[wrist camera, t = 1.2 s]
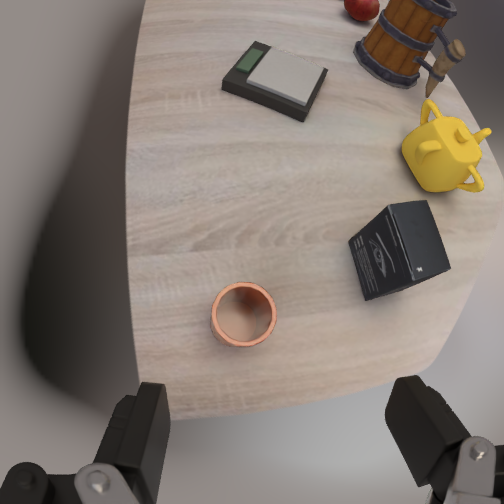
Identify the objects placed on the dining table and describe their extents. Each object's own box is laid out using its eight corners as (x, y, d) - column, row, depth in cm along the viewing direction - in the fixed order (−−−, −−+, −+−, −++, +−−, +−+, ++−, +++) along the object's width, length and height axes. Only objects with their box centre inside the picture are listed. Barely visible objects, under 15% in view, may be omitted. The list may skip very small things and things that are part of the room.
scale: (221, 89, 43) (222, 75, 41) (253, 50, 47) (255, 37, 44) (303, 122, 43) (308, 109, 41) (324, 78, 47) (329, 66, 44)
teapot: (403, 118, 47) (433, 81, 38) (459, 158, 47) (493, 127, 38) (389, 174, 43) (426, 135, 33) (453, 217, 43) (496, 189, 33)
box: (399, 291, 38) (454, 271, 28) (363, 302, 37) (414, 283, 27) (382, 232, 40) (429, 197, 30) (345, 239, 39) (389, 202, 29)
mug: (442, 105, 51) (496, 42, 32) (397, 111, 48) (456, 31, 29) (388, 42, 55) (425, -23, 36) (339, 41, 52) (374, -37, 33)
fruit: (378, 27, 57) (394, -4, 48) (357, 29, 55) (373, -4, 45) (354, 8, 58) (367, -21, 49) (332, 10, 56) (345, -22, 47)
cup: (202, 334, 33) (201, 329, 25) (222, 291, 35) (228, 271, 26) (247, 354, 33) (261, 356, 25) (266, 310, 35) (286, 297, 26)
